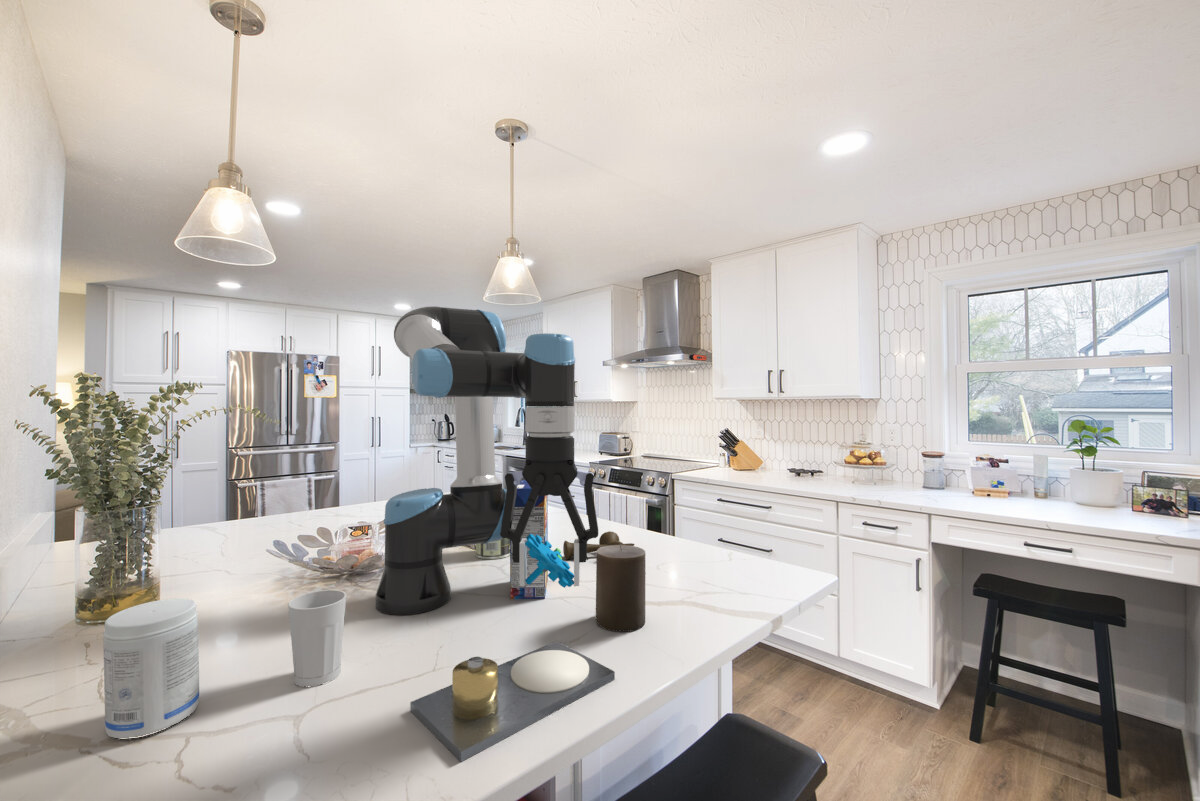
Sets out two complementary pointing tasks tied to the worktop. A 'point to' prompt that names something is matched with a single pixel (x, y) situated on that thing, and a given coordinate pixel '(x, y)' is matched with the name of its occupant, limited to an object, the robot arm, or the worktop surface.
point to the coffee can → (493, 549)
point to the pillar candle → (620, 587)
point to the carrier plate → (507, 710)
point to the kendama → (604, 540)
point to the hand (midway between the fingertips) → (550, 582)
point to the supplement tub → (150, 667)
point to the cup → (317, 635)
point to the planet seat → (549, 671)
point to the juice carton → (534, 526)
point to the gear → (548, 562)
